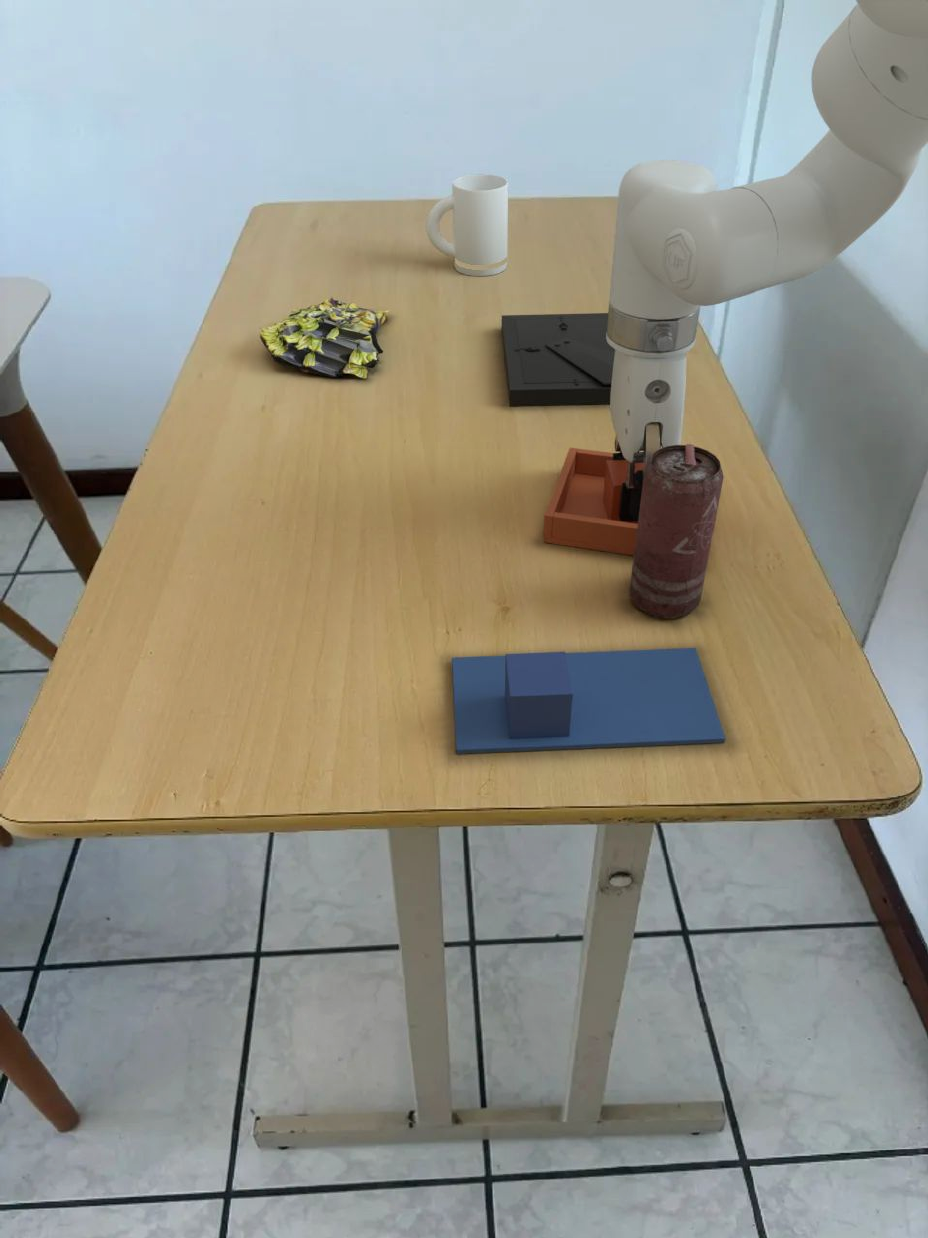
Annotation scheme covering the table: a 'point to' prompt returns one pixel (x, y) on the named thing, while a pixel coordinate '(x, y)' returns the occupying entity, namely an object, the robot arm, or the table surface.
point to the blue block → (538, 695)
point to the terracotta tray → (585, 507)
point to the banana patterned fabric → (327, 339)
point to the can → (675, 530)
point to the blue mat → (595, 702)
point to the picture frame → (557, 359)
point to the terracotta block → (615, 486)
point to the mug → (474, 223)
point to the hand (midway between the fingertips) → (630, 502)
